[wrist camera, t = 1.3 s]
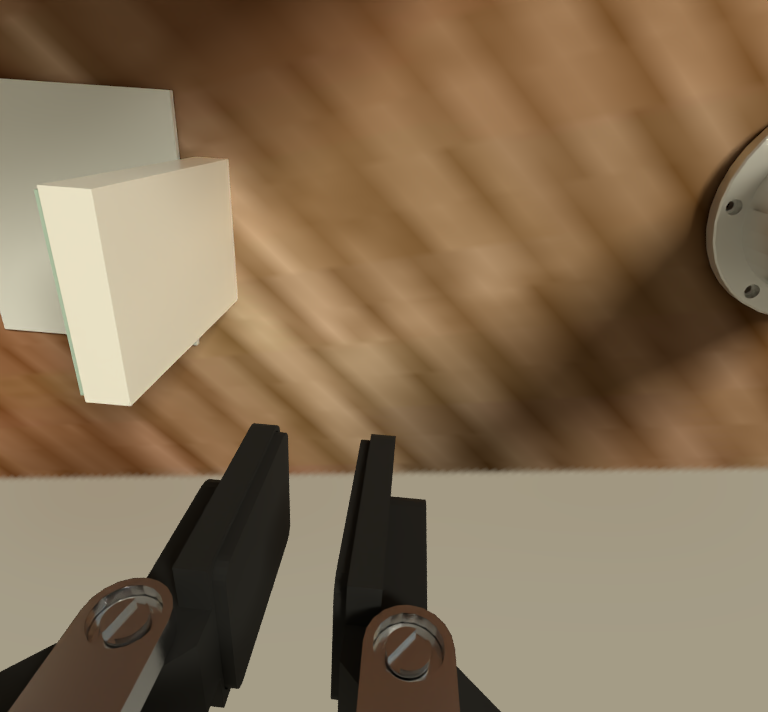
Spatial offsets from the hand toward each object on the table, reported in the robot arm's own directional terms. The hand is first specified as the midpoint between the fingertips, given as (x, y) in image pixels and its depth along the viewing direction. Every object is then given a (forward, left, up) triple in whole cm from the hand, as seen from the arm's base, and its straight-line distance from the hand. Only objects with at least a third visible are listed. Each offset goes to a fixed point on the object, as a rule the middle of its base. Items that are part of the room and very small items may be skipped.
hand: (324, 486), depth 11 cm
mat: (+20, 0, -23) cm, 31 cm away
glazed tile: (+11, 0, -23) cm, 26 cm away
